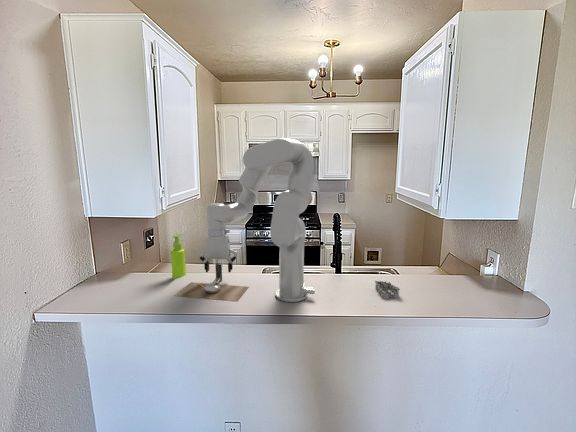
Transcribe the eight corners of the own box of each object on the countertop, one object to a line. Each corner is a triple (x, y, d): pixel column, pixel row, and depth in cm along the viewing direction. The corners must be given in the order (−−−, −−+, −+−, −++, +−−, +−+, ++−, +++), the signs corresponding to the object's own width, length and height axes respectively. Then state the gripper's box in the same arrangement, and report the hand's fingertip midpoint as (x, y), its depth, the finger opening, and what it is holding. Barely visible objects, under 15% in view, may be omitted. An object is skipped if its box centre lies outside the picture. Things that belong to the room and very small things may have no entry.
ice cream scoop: (218, 293, 117) (217, 275, 116) (202, 293, 117) (202, 275, 116) (226, 279, 132) (226, 263, 131) (213, 278, 132) (212, 263, 131)
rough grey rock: (400, 299, 117) (401, 289, 116) (380, 299, 117) (381, 289, 116) (391, 288, 128) (392, 278, 127) (373, 288, 128) (374, 278, 127)
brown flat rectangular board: (249, 290, 125) (249, 286, 125) (237, 305, 111) (237, 300, 111) (191, 285, 130) (191, 281, 129) (173, 299, 116) (173, 295, 116)
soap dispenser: (189, 274, 142) (186, 233, 139) (182, 280, 136) (180, 236, 132) (177, 274, 143) (174, 233, 140) (170, 279, 136) (167, 236, 133)
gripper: (239, 230, 131) (240, 268, 134) (199, 230, 131) (201, 268, 134) (236, 234, 124) (237, 274, 127) (193, 234, 124) (196, 274, 127)
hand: (218, 271), depth 130 cm, fingers open, 9 cm apart
